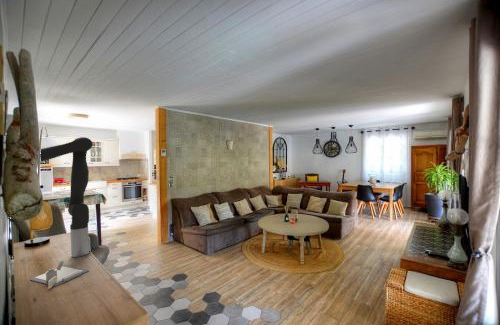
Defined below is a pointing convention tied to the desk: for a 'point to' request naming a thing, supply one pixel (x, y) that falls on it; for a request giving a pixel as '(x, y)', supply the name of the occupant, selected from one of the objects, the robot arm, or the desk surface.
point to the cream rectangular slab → (52, 282)
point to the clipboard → (61, 275)
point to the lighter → (53, 272)
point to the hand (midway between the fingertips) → (22, 219)
